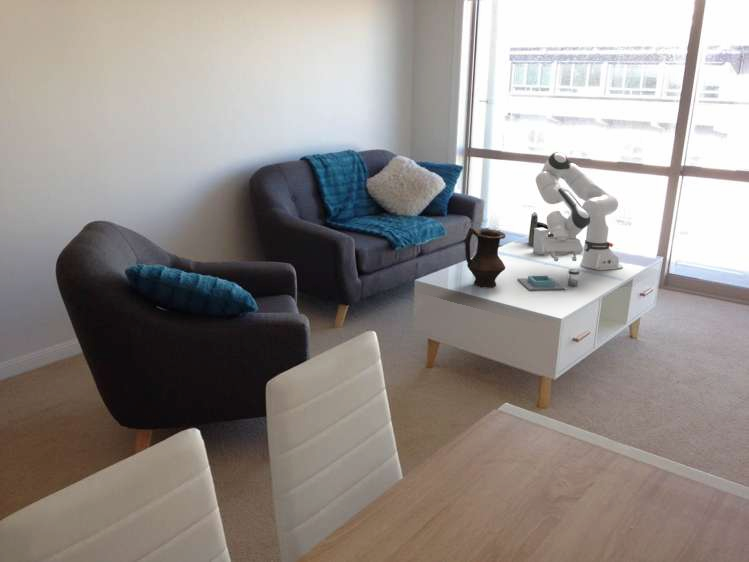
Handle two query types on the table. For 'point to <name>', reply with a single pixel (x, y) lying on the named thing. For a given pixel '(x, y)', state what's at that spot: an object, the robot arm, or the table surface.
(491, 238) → the jug
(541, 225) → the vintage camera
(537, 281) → the stand
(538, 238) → the skincare box
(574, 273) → the glass jar
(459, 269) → the table surface
